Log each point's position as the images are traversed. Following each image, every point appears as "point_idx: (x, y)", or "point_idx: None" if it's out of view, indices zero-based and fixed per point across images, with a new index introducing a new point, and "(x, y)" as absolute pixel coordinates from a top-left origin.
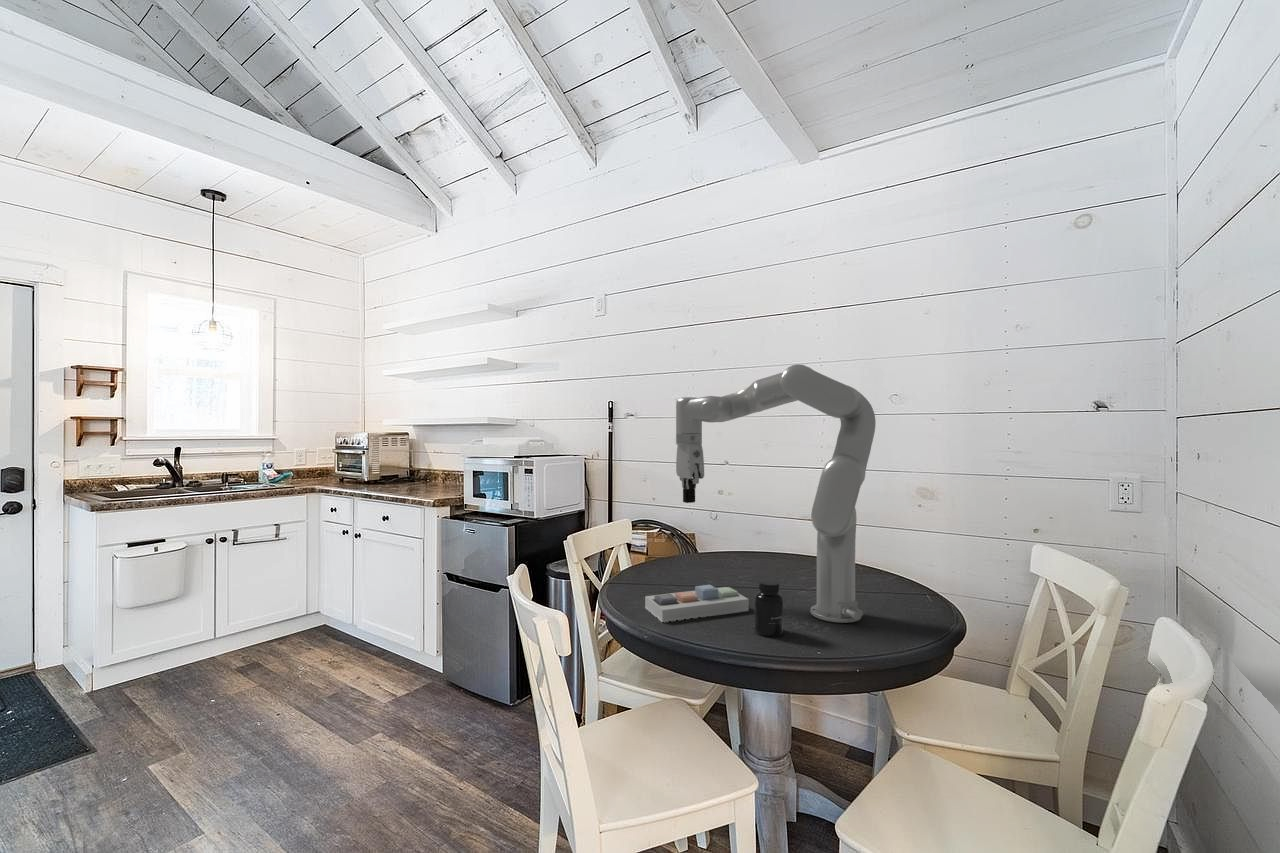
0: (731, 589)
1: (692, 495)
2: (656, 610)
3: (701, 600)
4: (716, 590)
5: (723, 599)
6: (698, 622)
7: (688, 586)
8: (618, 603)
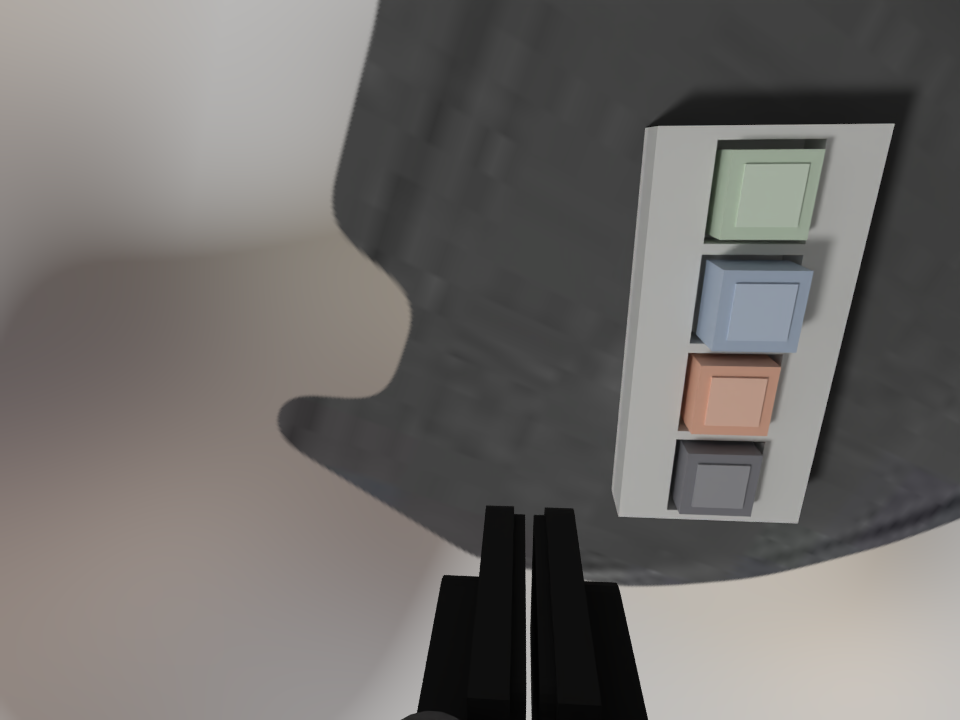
0: (783, 165)
1: (629, 653)
2: None
3: None
4: (809, 278)
5: (826, 249)
6: (847, 388)
7: (407, 219)
8: None
